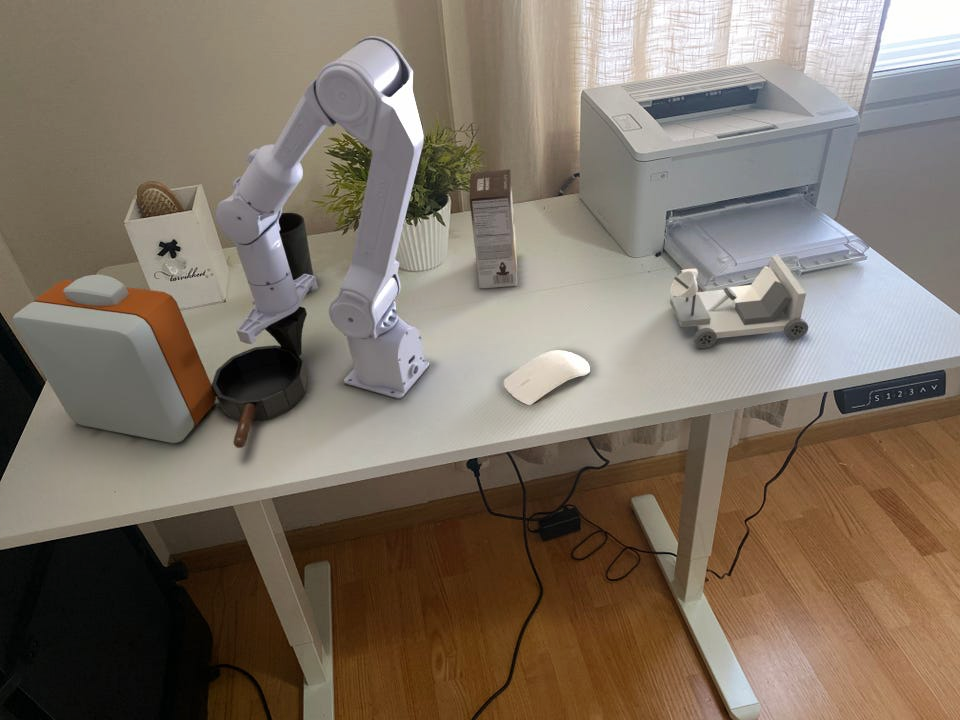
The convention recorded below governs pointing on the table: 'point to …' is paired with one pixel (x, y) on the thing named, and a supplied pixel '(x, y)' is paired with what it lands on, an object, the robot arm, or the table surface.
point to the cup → (295, 244)
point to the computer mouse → (544, 375)
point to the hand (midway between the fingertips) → (294, 354)
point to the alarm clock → (118, 357)
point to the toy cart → (741, 305)
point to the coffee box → (493, 228)
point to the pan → (259, 386)
